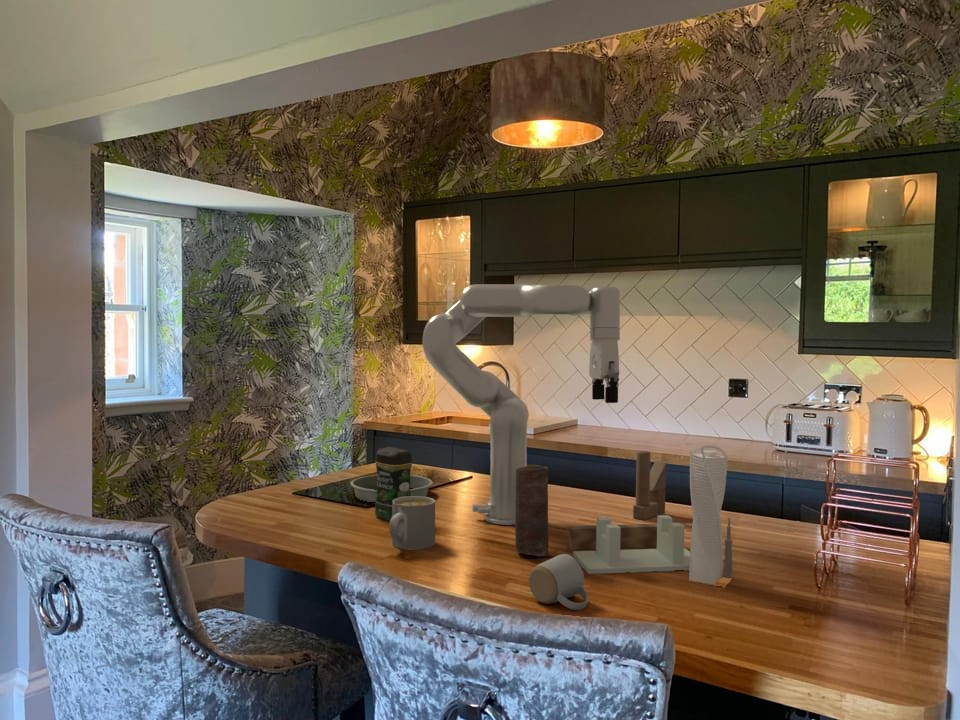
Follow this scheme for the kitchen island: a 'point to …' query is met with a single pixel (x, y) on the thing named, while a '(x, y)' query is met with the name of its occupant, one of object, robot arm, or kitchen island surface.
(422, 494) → the cake pan
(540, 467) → the candle
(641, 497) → the brown wooden upright piece
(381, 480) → the coffee jar
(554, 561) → the ceramic mug
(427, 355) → the robot arm
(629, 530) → the walnut rail
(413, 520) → the coffee mug
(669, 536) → the notched stand
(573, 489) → the kitchen island surface
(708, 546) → the skyscraper
